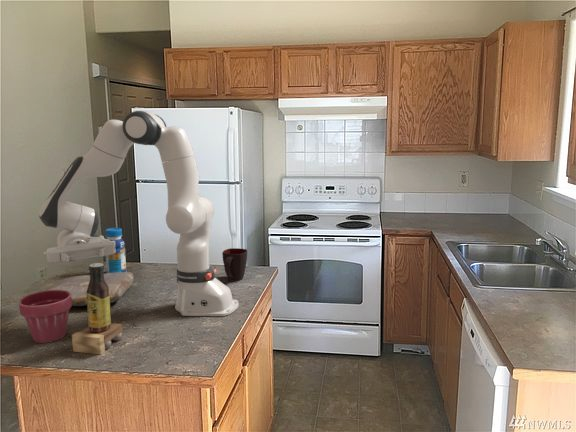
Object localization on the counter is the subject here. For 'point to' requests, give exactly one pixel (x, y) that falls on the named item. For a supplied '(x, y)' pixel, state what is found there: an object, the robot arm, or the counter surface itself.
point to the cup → (235, 263)
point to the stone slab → (80, 284)
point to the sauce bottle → (98, 300)
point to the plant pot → (46, 314)
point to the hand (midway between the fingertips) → (85, 256)
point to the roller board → (96, 339)
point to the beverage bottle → (116, 251)
